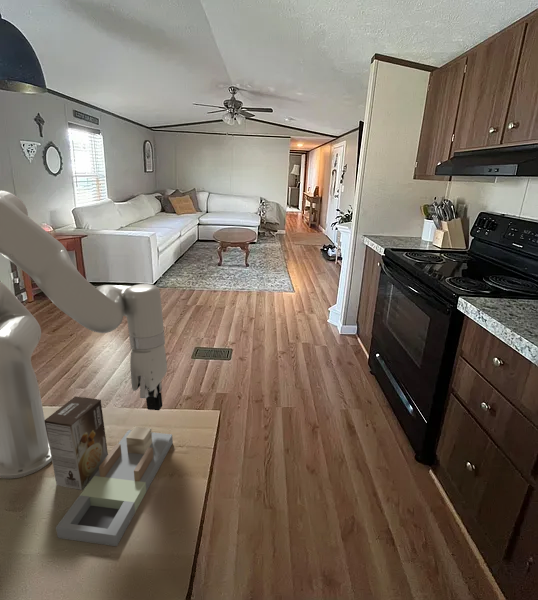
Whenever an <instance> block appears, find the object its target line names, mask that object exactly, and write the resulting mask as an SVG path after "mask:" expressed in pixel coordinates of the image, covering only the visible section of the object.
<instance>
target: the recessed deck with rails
mask: <svg viewBox="0 0 538 600" xmlns="http://www.w3.org/2000/svg"><path fill="white" fill-rule="evenodd" d="M131 430H132V429H128V430H127V431H126V432H125V434H124V435H123V437H122V438H121V439H120V440H119V442H118V443H115V444H114V446H113V447H112V448H111V450H110V451H109V452H108V455H107V457H106V458H105V459H104V461H103V462H102V463H101V465H100V466H99V470H98V471H97V473H96V474H95V475H94V477H93V478H92V479H91V481H90V482H89V483H88V484H87V485H86V487H85V488H84V489H83V490H82V492H81V493H80V494H79V495H78V497H77V498H76V499H75V500H74V502H73V503H72V505H71V506H70V507H69V509H68V510H67V511H66V513H65V515H64V516H63V517H62V518H61V520H60V521H59V522H58V524H57V525H56V526H55V531H56V534H57V538H58V539H62V540H68V541H69V540H70V541H78V542H84V543H89V544H90V543H92V544H99V545H106V546H113V547H118V546H119V543H120V541H121V540H122V538H123V536H124V534H125V532H126V530H127V529H128V527H129V525H130V523H131V521H132V519H133V517H134V516H135V514H136V512H137V510H138V508H139V507H140V504H141V503H142V501H143V499H144V497H145V495H146V494H147V492H148V490H149V488H150V486H151V484H152V482H153V480H154V479H155V477H156V475H157V473H158V472H159V469H160V468H161V466H162V464H163V462H164V460H165V458H166V456H167V455H168V453H169V451H170V449H171V447H172V445H173V444H174V443H173V434H171V433H170V434H169V433H161V432H152V431H151V432H152V444H151V445H150V447H148V449H147V450H146V452H145V454H136V453H128V450H127V440H126V437H127V436H128V435H129V433H130V432H131Z"/></svg>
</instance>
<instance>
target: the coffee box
mask: <svg viewBox="0 0 538 600" xmlns="http://www.w3.org/2000/svg"><path fill="white" fill-rule="evenodd" d="M44 419H45V420H44V421H45V426H46V432H47V437H48V442H49V447H50V453H51V458H52V461H51V462H52V467H53V468H52V469H53V473H54V478H55V482H56V485H57V486H61V487H64V488H70V489H74V490H80V491H83V490H84V489H85V488H86V486H87V485H88V484H89V482H90V481H91V479H92V478H93V477H94V475H95V474H96V473H97V471H98V470H99V466H100V465H101V463H102V462H103V461H104V459H105V458H106V457H107V455H108V454H109V452H108V445H107V444H108V443H107V437H106V429H105V423H104V415H103V407H102V400H101V399H97V398H92V397H82V396H73V398H71V399H70V400H68V401H67V402H66V403H64V405H62V406H61V407H59V409H57V410H56V411H54V412H52V414H50V415H49V416H48V417H47V418H44Z"/></svg>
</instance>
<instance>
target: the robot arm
mask: <svg viewBox="0 0 538 600" xmlns="http://www.w3.org/2000/svg"><path fill="white" fill-rule="evenodd" d="M0 255H1V256H3V257H4V258H5V259H7V260H8V261H10V262H11V263H12V264H14V265H15V266H16V267H17V268H19V269H20V270H22V271H23V272H24V273H25V274H27V275H28V276H29V277H30V278H31V279H32V280H33V281H34V283H35V284H36V286H37V287H38V288H39V289H40V291H42V292H43V294H44V295H45V297H47V298H48V299H49V300H50V302H52V304H53V305H55V306H56V307H57V309H58V310H60V311H62V313H64V314H65V315H67V316H69V318H71V319H72V320H74V321H75V322H76V323H78V324H80V325H81V326H82V327H83V328H85V329H87V330H88V331H91V332H94V333H98V334H107V333H111V332H113V331H115V330H116V329H118V328H119V326H120V325H121V324H122V322H123V319H124V317H125V318H126V321H127V329H128V337H129V344H130V349H131V351H130V358H129V359H130V364H129V366H130V381H131V382H130V384H131V389H132V390H133V391H135V392H136V391H137V390H138V389H139V398H140V399H145V402H146V408H147V410H148V411H149V410H150V411H161V409H162V407H163V398H162V386H163V385H162V380H163V379H164V378H165V376H166V374H167V371H168V361H167V354H166V348H165V345H166V338H165V328H164V327H165V325H164V318H163V307H162V297H161V296H162V295H161V291H160V288H159V287H158V286H157V285H155V284H150V283H139V284H134V285H120V284H119V285H117V284H103V285H102V284H101V285H99V286H96V287H95V286H94V285H93V284H92V283H90V282H89V280H87V279H86V278H85V277H84V276H83V275H82V274H81V273H80V271H79V270H78V269H77V267H76V266H75V265H74V263H73V261H72V259H71V256H70V255H69V251H68V250H67V248H66V247H65V246H64V245H63V244H62V242H60V241H59V240H58V239H57V238H55V237H54V236H53V235H52V234H50V233H49V232H48V231H47V230H45V229H44V228H43V227H42V226H40V225H39V224H38V223H36V221H34V220H33V219H32V218H30V217H29V212H28V208H27V206H26V205H25V203H24V202H23V201H22V199H20V197H18V196H16V195H15V194H13V193H12V192H10V191H6V190H0ZM41 338H42V329H41V326H40V324H39V322H38V320H37V319H36V317H35V316H34V315H33V314H32V313H31V311H29V310H28V308H27V307H26V306H25V305H24V304H23V302H21V300H19V299H18V297H17V296H16V295H15V294H14V293H13V292H12V291H11V290H10V289H9V287H7V286H6V284H4V282H2V281H1V280H0V479H17V478H23V477H25V476H28V475H32V474H34V473H36V472H38V471H40V470H42V469H43V468H45V467H46V466H47V465H49V464H50V463H51V462H52V458H51V453H50V447H49V442H48V437H47V432H46V426H45V421H44V420H45V419H46V418H45V414H44V413H45V412H44V408H43V402H42V397H41V392H40V387H39V382H38V378H37V375H36V372H35V369H34V367H33V365H32V364H33V363H32V355H33V353H34V352H35V349H36V348H37V347H38V345H39V343H40V340H41Z"/></svg>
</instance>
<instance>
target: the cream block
mask: <svg viewBox="0 0 538 600" xmlns="http://www.w3.org/2000/svg"><path fill="white" fill-rule="evenodd" d="M130 430H131V432H130V433H129V435H128V436H127V437H126V440H127V450H128V453H136V454H145V452H146V450H147V449H148V447H150V445H151V444H152V427H146V426H145V427H143V426H133V427H132V429H130Z"/></svg>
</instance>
